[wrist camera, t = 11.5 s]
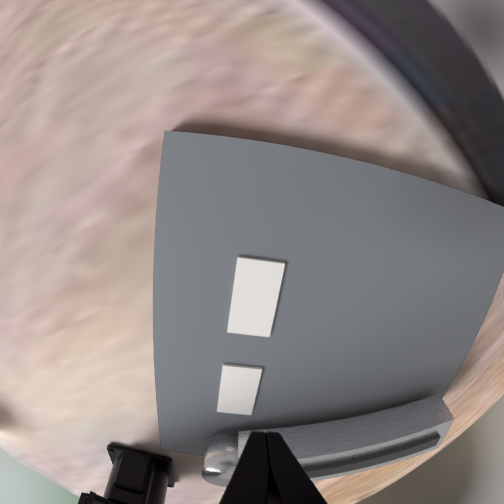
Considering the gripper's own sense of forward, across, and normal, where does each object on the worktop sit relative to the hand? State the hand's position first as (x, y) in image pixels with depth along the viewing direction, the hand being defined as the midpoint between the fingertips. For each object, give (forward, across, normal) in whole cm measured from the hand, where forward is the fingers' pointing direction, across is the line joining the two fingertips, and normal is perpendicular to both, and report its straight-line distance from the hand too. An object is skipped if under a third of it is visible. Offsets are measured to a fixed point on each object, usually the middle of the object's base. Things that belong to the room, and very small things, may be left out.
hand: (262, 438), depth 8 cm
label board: (+10, -6, +4) cm, 12 cm away
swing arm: (+8, -7, +11) cm, 16 cm away
